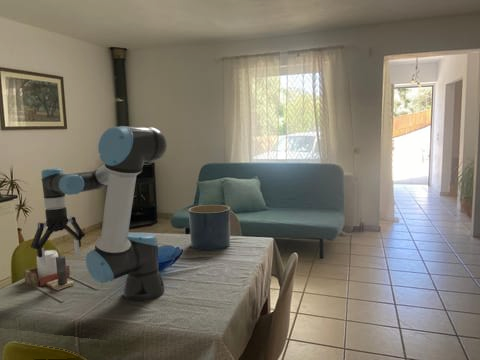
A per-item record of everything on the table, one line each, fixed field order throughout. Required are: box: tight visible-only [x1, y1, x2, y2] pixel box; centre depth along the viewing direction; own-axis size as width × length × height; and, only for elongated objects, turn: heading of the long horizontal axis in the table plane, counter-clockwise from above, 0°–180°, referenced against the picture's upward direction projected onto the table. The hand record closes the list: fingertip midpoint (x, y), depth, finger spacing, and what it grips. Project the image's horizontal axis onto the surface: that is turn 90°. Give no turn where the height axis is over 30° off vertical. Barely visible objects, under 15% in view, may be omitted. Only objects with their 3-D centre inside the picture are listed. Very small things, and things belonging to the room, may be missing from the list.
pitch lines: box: [34, 274, 99, 303], centre depth 147 cm, size 23×14×1 cm, turn 51°
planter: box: [188, 204, 231, 252], centre depth 199 cm, size 22×22×20 cm
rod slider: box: [38, 255, 75, 291], centre depth 149 cm, size 10×11×12 cm
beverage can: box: [36, 249, 59, 282], centre depth 155 cm, size 8×8×12 cm
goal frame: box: [23, 263, 71, 288], centre depth 157 cm, size 10×14×5 cm
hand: (61, 259), depth 147 cm, fingers open, 13 cm apart
